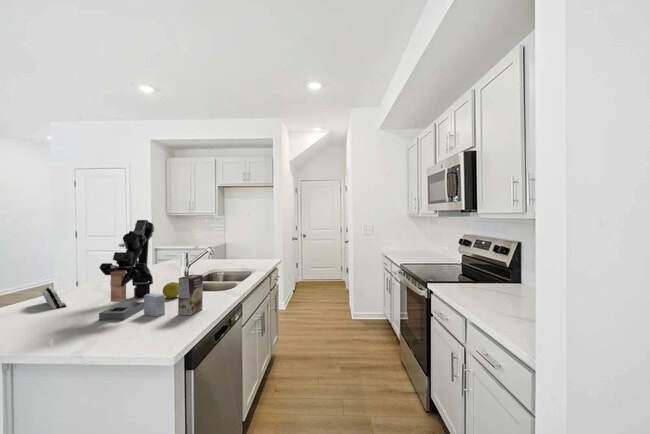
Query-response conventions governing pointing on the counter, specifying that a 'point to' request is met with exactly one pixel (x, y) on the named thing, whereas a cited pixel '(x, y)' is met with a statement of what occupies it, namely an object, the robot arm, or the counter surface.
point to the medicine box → (154, 304)
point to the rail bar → (121, 311)
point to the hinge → (52, 297)
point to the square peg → (118, 286)
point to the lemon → (171, 290)
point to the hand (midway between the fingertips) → (116, 285)
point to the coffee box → (190, 294)
